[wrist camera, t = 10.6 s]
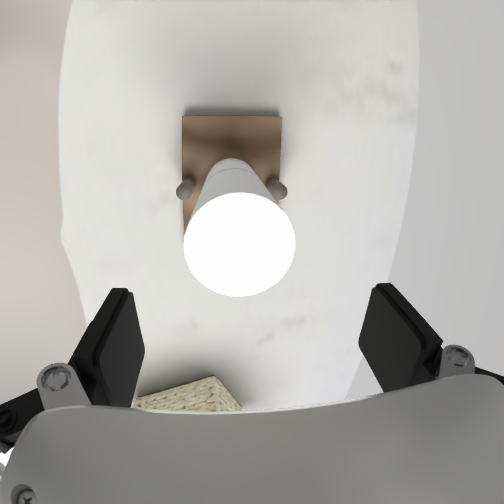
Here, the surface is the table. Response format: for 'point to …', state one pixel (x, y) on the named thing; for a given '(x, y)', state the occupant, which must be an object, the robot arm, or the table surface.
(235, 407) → the storage basket
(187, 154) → the board
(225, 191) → the cylindrical container
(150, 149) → the table surface
